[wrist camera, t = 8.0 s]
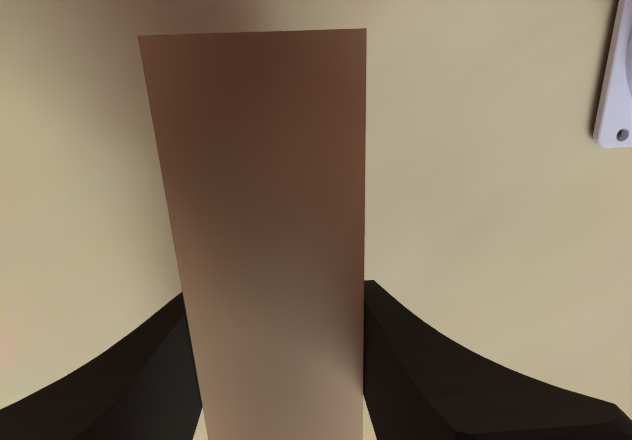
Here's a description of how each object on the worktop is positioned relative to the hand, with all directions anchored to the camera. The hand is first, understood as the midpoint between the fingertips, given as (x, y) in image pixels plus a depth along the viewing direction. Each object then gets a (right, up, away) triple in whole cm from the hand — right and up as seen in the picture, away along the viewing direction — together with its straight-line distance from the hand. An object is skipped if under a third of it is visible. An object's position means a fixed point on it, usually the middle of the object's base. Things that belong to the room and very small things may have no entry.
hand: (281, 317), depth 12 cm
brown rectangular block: (0, -1, +2) cm, 3 cm away
